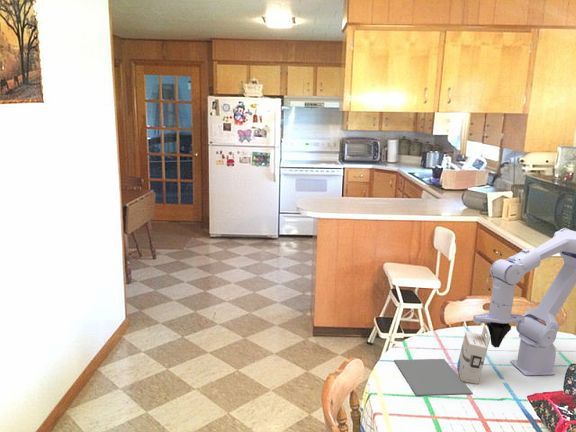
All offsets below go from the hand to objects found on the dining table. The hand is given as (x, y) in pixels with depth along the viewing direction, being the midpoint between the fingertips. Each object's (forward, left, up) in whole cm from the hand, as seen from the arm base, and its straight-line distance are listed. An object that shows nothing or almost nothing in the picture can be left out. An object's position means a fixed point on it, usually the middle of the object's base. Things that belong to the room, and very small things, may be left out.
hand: (495, 345), depth 134 cm
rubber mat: (+18, 0, -9) cm, 21 cm away
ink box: (+7, 0, -9) cm, 12 cm away
